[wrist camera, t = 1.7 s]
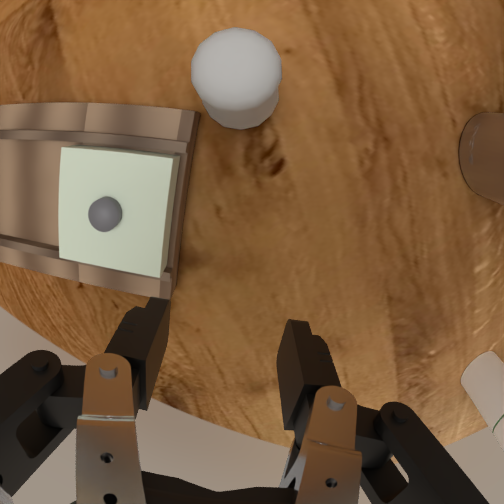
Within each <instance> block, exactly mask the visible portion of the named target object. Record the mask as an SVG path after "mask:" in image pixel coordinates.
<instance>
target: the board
mask: <svg viewBox="0 0 504 504" xmlns="http://www.w3.org/2000/svg"><path fill="white" fill-rule="evenodd" d="M199 118H200V113H199V112H196V111H190V110H181V109H172V108H163V107H152V106H140V105H126V104H107V103H27V104H9V105H0V262H4V263H7V264H11V265H15V266H18V267H22V268H26V269H29V270H33V271H37V272H41V273H45V274H49V275H53V276H57V277H61V278H65V279H69V280H74V281H78V282H82V283H87V284H91V285H95V286H100V287H104V288H109V289H114V290H118V291H123V292H128V293H133V294H138V295H143V296H148V297H151V296H153V297H158V298H163V299H169V300H171V297H172V295H173V292H174V290H175V287H176V283H177V273H178V263H179V254H180V245H181V237H182V229H183V221H184V213H185V206H186V198H187V191H188V185H189V178H190V171H191V165H192V159H193V153H194V147H195V141H196V135H197V129H198V124H199ZM71 145H89V146H101V147H112V148H122V149H131V150H140V151H149V152H157V153H165V154H172V155H180V161H179V168H178V175H177V182H176V189H175V196H174V204H173V212H172V221H171V230H170V239H169V249H168V259H167V266H166V268H165V269H164V271H163V273H162V275H161V277H160V278H158V277H152V276H147V275H142V274H137V273H131V272H126V271H121V270H116V269H111V268H106V267H101V266H97V265H92V264H87V263H82V262H78V261H73V260H68V259H64V258H60V257H59V227H58V205H59V175H60V159H61V147H65V146H71Z"/></svg>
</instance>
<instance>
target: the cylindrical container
mask: <svg viewBox="0 0 504 504" xmlns="http://www.w3.org/2000/svg"><path fill="white" fill-rule="evenodd" d="M461 385H462V386H463V388H464V389H465V391H466V392H467V394H468V395H469V397H470V398H471V400H472V401H473V403H474V404H475V406H476V407H477V409H478V410H479V412H480V414H481V415H482V417H483V418H484V420H485V421H486V423H487V425H488V426H489V428H490V429H491V431H492V433H493V434H494V436H495V438H496V439H497V441H498V443H499V444H500V446H501V448H502V449H503V451H504V363H503V362H502V361H501V360H500V358H499V357H498V356H497V355H496V354H495V353H494V352H493V351H488V352H485V353H483V354H481V355H479V356H478V357H476V358H475V359H474V360H473V361H472V362H471V363H470V364H469V365H468V366H467V368H466V369H465V371H464V373H463V375H462V377H461Z"/></svg>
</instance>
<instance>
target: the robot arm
mask: <svg viewBox="0 0 504 504" xmlns="http://www.w3.org/2000/svg"><path fill="white" fill-rule="evenodd" d="M459 156H460V165H461V170H462V173H463V176H464V178H465V180H466V182H467V184H468V185H469V187H470V188H471V189H472V190H473V191H474V192H475V193H477V194H478V195H481V196H483V197H486V198H488V199H490V200H493V201H495V202H497V203H500V204H502V205H504V113H480V114H477V115H475V116H474V117H473V118H471V119H470V121H469V122H468V123H467V124H466V127H465V129H464V131H463V133H462V137H461V140H460V148H459ZM170 307H171V301H170V300H169V299H163V298H158V297H153V296H151V297H150V299H149V301H148V303H147V305H146V307H145V308H141V307H137V306H136V307H134V308H133V309H131V310H130V311H128V312H126V314H125V316H124V318H123V319H122V322H121V323H120V325H119V326H118V329H117V330H116V332H115V334H114V335H113V337H112V339H111V341H110V343H109V344H108V346H107V348H106V350H105V352H104V353H102V354H98V355H96V356H94V357H92V358H91V359H90V360H89V361H88V362H87V365H84V366H71V365H61V361H60V359H59V357H58V356H57V355H56V354H54V353H52V352H50V351H46V350H37V351H33V352H30V353H28V354H27V355H25V356H24V357H23V358H21V359H20V360H19V361H18V362H16V363H15V364H13V365H12V366H11V367H10V368H8V369H7V370H6V371H4V372H3V373H2V374H0V504H14V503H13V500H12V498H11V497H12V496H13V495H14V494H15V493H16V492H17V491H18V490H19V488H20V487H21V486H22V485H23V484H24V483H25V482H26V481H27V480H28V478H29V477H30V476H31V475H32V474H33V473H34V472H35V471H36V470H37V469H38V468H39V466H40V465H41V464H42V463H43V462H44V461H45V460H46V459H47V457H49V455H50V454H51V453H52V452H53V451H54V450H55V449H56V448H57V447H58V446H59V445H60V443H61V442H62V441H63V440H64V439H65V438H66V437H67V436H68V435H69V434H70V433H71V431H72V430H73V429H74V428H75V429H77V430H76V501H74V502H72V503H71V504H358V499H359V489H360V486H361V487H362V489H363V491H364V492H365V494H366V495H367V497H368V499H369V500H370V502H371V503H372V504H489V503H488V501H487V500H486V499H485V498H484V497H483V495H482V494H481V493H480V492H479V490H478V489H477V488H476V487H475V485H474V484H473V483H472V482H471V480H470V479H469V478H468V477H467V476H466V474H465V473H464V472H463V471H462V469H461V468H460V467H459V466H458V464H457V463H456V462H455V461H454V459H453V458H452V457H451V456H450V455H449V453H448V452H447V451H446V450H445V448H444V447H443V446H442V445H441V444H440V442H439V441H438V440H437V439H436V438H435V436H434V435H433V434H432V433H431V432H430V430H429V429H428V428H427V427H426V426H425V424H424V423H423V422H422V421H421V420H420V418H419V417H418V416H417V415H416V414H415V412H414V411H413V410H412V409H411V408H410V407H408V406H407V405H405V404H402V403H399V402H388V403H386V404H384V405H383V406H382V408H381V409H380V411H378V410H374V409H370V408H366V407H363V406H360V405H357V401H356V399H355V397H354V396H353V395H352V394H351V393H350V392H349V391H347V390H346V389H344V388H342V387H341V384H340V381H339V378H338V375H337V372H336V369H335V366H334V363H332V362H333V360H332V357H331V355H330V351H329V349H328V346H327V344H326V343H325V341H324V340H323V339H322V338H321V337H320V336H318V335H312V332H311V329H310V326H309V323H308V322H307V321H300V320H292V319H289V320H288V321H287V323H286V326H285V330H284V333H283V336H282V340H281V343H280V346H279V350H278V354H277V373H278V381H279V390H280V398H281V406H282V415H283V423H284V430H294V432H295V438H294V440H293V442H292V444H291V447H290V451H289V455H288V458H287V462H286V465H285V469H284V472H283V476H282V479H281V482H280V485H279V487H278V488H273V487H253V488H246V489H239V490H231V491H223V492H216V491H212V490H209V489H206V488H203V487H200V486H198V485H195V484H192V483H189V482H187V481H184V480H182V479H179V478H175V477H169V476H164V475H159V474H154V473H150V472H145V471H141V466H140V460H139V451H138V443H137V435H136V426H135V419H136V416H137V413H138V410H139V409H142V410H146V411H147V409H148V406H149V402H150V399H151V396H152V392H153V389H154V386H155V382H156V379H157V376H158V372H159V369H160V366H161V363H162V360H163V356H164V353H165V350H166V346H167V342H168V335H169V320H170ZM393 455H394V457H395V458H396V459H397V461H398V462H399V464H400V465H401V466H402V468H403V469H404V470H405V472H406V473H407V475H408V478H409V483H407V482H406V480H405V478H404V477H403V476H402V474H401V473H400V471H399V470H398V469H397V467H396V466H395V464H394V463H393V462H392V460H391V459H390V458H391V457H392V456H393Z"/></svg>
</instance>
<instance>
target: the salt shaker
mask: <svg viewBox="0 0 504 504" xmlns="http://www.w3.org/2000/svg"><path fill="white" fill-rule="evenodd" d="M281 80H282V67H281V58H280V56H279V54H278V52H277V51H276V49H275V47H274V45H273V44H272V42H271V41H270V40H268V39H267V38H265V37H264V36H262V35H261V34H259V33H258V32H256V31H254V30H249V29H243V28H237V27H234V28H230V29H226V30H222V31H218V32H215V33H214V34H212V35H211V36H210V37H208V38H207V39H206V40H204V41H203V42H202V43H200V44H199V46H198V48H197V50H196V52H195V55H194V57H193V59H192V61H191V82H192V84H193V86H194V87H195V89H196V91H197V93H198V94H199V96H200V98H201V99H202V103H203V105H204V107H205V108H206V110H207V112H208V114H209V115H210V117H211V118H212V119H214V120H215V121H217V122H218V123H219V124H221V125H222V126H224V127H228V128H234V129H240V130H242V129H246V128H250V127H255V126H259V125H260V124H261V123H262V122H263V121H265V120H266V119H267V118H268V117H269V116H271V115H272V113H273V111H274V109H275V107H276V105H277V103H278V101H279V94H278V86H279V84H280V82H281Z"/></svg>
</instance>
